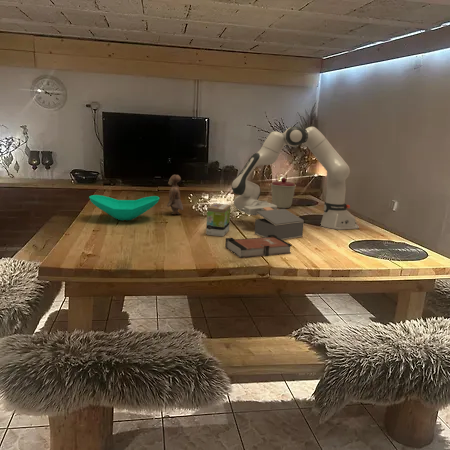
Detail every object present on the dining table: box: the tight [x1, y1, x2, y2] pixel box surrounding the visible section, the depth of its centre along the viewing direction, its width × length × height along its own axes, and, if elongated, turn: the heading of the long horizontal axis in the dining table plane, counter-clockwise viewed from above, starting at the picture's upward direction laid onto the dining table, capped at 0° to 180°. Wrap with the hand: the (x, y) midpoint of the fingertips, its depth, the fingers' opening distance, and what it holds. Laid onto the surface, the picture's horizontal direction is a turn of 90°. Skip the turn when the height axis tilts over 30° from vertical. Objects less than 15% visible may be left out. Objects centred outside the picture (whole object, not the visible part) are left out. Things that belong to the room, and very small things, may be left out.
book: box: [225, 235, 293, 259], centre depth 206 cm, size 26×18×5 cm
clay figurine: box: [166, 174, 184, 215], centre depth 272 cm, size 13×10×25 cm
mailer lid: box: [256, 207, 305, 225], centre depth 234 cm, size 20×20×1 cm
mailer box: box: [254, 217, 305, 241], centre depth 235 cm, size 20×16×8 cm
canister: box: [270, 177, 297, 209], centre depth 312 cm, size 18×18×21 cm
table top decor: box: [88, 194, 160, 221], centre depth 254 cm, size 40×28×13 cm
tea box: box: [205, 202, 232, 237], centre depth 234 cm, size 15×10×15 cm
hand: (269, 212), depth 240 cm, fingers closed, pressing on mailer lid
